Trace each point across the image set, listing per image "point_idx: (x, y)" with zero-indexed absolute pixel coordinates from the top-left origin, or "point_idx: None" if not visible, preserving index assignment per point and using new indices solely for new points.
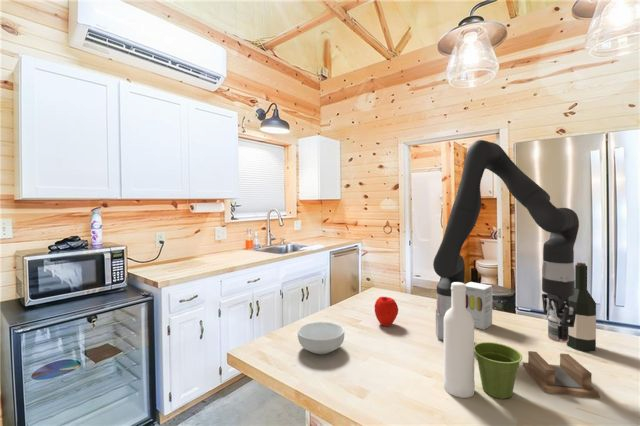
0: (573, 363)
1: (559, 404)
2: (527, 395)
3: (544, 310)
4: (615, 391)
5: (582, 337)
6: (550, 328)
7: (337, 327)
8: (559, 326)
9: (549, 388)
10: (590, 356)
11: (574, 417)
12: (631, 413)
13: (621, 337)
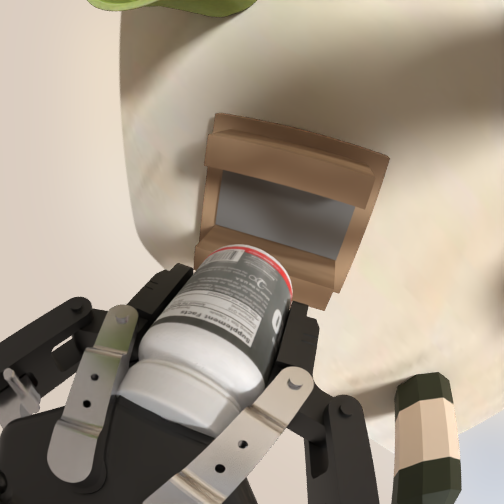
0: None
1: (169, 120)
2: (205, 55)
3: (349, 420)
4: None
5: (409, 410)
6: (213, 282)
7: None
8: (136, 309)
9: (213, 128)
10: (381, 377)
11: (129, 125)
12: (157, 257)
13: None
